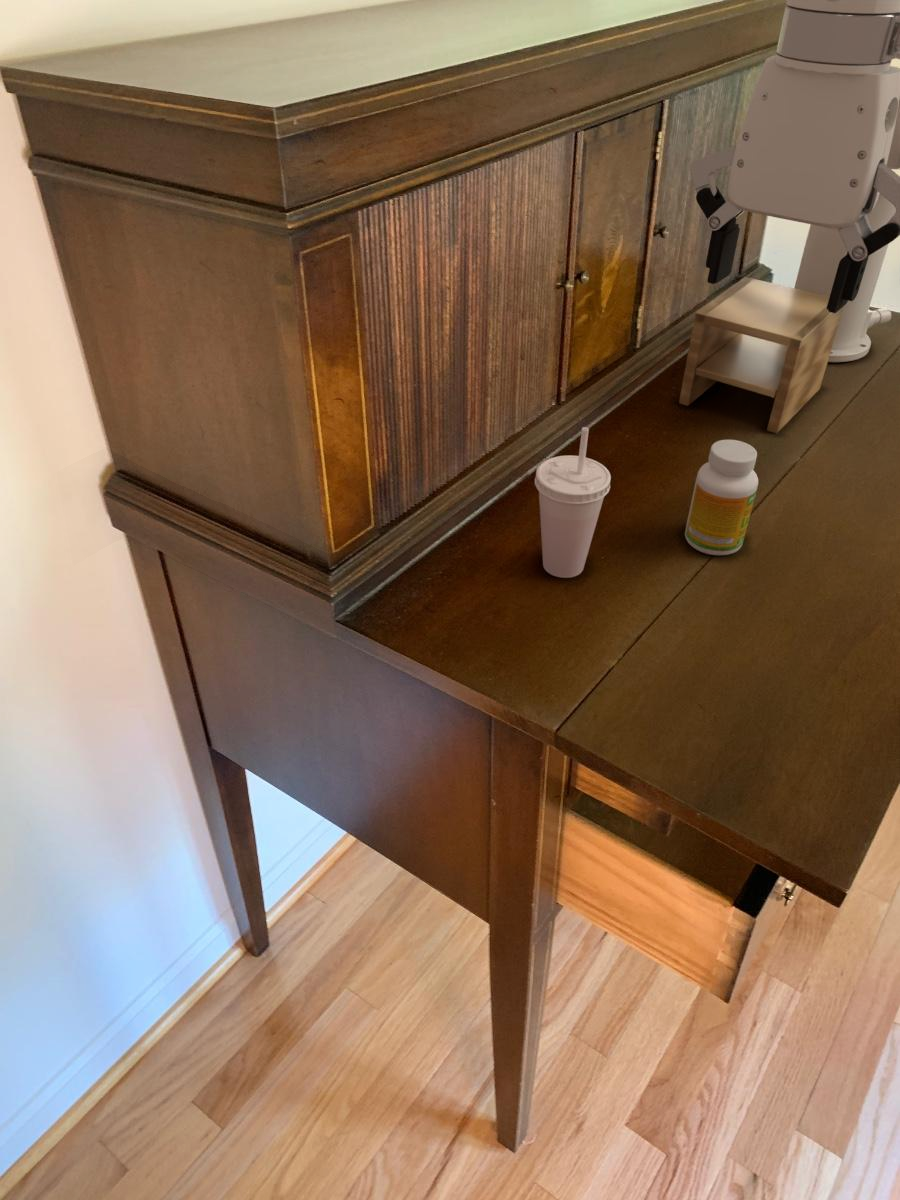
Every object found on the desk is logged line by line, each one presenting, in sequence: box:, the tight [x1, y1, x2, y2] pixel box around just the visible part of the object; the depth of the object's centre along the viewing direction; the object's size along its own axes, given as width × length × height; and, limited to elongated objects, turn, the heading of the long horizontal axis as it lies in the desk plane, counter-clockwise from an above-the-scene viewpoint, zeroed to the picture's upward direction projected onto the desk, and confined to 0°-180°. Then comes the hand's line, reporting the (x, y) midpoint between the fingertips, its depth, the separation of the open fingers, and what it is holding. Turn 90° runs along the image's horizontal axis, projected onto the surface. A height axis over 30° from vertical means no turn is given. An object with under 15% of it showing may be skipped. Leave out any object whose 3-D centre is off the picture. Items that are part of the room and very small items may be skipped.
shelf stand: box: [678, 276, 844, 434], centre depth 106 cm, size 14×12×11 cm
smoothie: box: [534, 426, 612, 579], centre depth 79 cm, size 6×6×14 cm
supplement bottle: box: [684, 439, 759, 556], centre depth 84 cm, size 5×5×10 cm
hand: (775, 292), depth 72 cm, fingers open, 9 cm apart
